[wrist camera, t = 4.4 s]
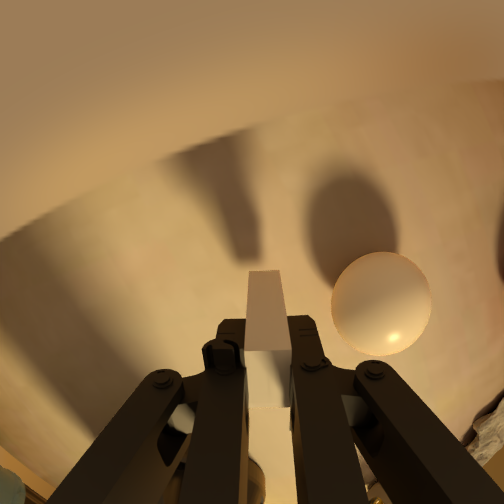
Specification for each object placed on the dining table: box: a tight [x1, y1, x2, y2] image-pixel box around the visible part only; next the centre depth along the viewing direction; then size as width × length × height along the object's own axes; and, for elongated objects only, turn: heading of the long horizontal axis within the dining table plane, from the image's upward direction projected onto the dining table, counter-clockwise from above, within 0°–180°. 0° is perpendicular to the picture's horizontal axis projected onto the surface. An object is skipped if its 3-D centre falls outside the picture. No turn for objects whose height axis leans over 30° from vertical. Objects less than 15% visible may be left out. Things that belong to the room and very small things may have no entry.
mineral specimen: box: [465, 397, 504, 467], centre depth 23 cm, size 6×12×4 cm, turn 144°
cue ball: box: [331, 252, 432, 356], centre depth 16 cm, size 6×6×6 cm
